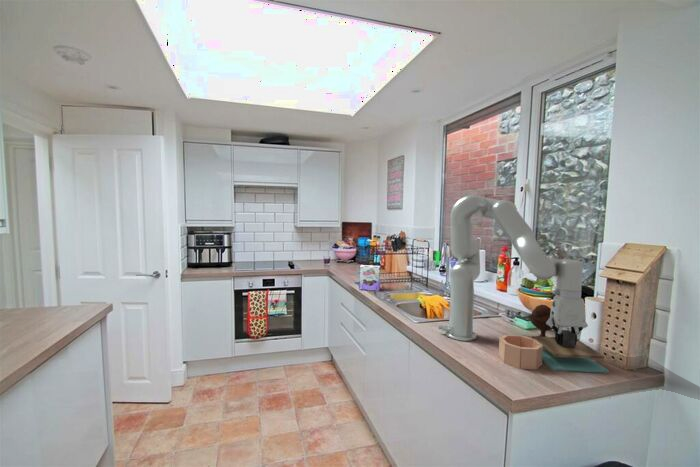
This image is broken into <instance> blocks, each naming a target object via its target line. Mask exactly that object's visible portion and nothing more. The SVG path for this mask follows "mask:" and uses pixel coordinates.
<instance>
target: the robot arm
mask: <svg viewBox="0 0 700 467" xmlns="http://www.w3.org/2000/svg"><path fill="white" fill-rule="evenodd" d="M472 217H481V218H486V219H491V220H494V221H495V222H496V224H497V225H498V227H499V228H500V229H501V230H502V231H503V233H504V234H505V236H506V237H507V238H508V240H509V241H510V243H511V245H512V247H514V249H515V251H516V253H517V254H518V256H519V257H520V259H521V260H522V262H523V263H524V264H525V266H526V267H527V269H528V270H529V271H530V273H531V274H532V275H533V276H534V277H535V278H537V279H538V280H543V281H547V280H551V279H552V278H553V277H556V284H555V285H556V287H555V290H554V289H553V290H552V291H551V292H552V295H554V296H553V298H552V302H551V307H550V309H551V313H550V318H549V319H548V320H547V322H546V324H547V325H548V326H550V327H551V328H552V330H553V331H554V333H555V334H554V337H555V341H556V342H557V343H558V344H559V345H562V340H563V334H561V332H562V330H563V328H570V331H571V332H573V333H574V334H576V336H575V346H576V342H577V340H578V335H579V334H580V332H582V330H583V329H586V328H587V327H588V326H589V325H588V323H587V321H586V319H587V318H586V317H587V316H586V305H585V301H584V298H582V286H583V270H584V269H583V268H584V267H583V266H584V265H583V263H582V261H580V260H578V259H577V260H576V259H570V258H569V259H568V258H563V259H560V258H556V257H548V256H547V255H546V253H545V252H544V250H543V249H542V247H541V246H540V244H539V242H538V241H537V239H536V237H535V234H534V230H533V229H532V228H531V227H530V225H529V224H528V223H527V222H526V221H525V219H524V217H523V216H522V215H521V214H520V212H519V211H518V208H517V206H516V205H515V203H514V202H512V201H510V200H507V199H506V200H505V199H503V200H501V199H496V198H489V197H486V196H485V197H484V196H479V195H475V194H469V195H465V196H463V197H461V198H460V199H458V200H457V201H456V202H455V203H454V205H453V206H452V208H451V211H450V217H449V218H450V219H449V220H450V248H451V254H452V256H453V257H455V258H456V259H457V263H456V264H455V265H453V266H452V268H451V269H450V273H449V283H450V285H449V287H450V294H449V295H450V297H449V320H448V321H449V322H447V323H445V324H438V325H437V330H442V332H444V334H445V336H447V337H448V338H450V339H453V340H456V341H461V342H462V341H463V342H464V341H465V342H468V341H469V342H470V341H474V340H476V339H477V334H476V332H474V331H473V328H474V326H473V325H474V307H475V304H474V302H475V288H474V284H475V283H474V282H475V281H476V280H477V279H478V278H479V277H480V273H481V257H480V253H481V252H480V245H479V243H478V241H477V239H476V238H474V237H473V228H472V227H473V226H472ZM552 323H555V326H554V325H553V324H552Z"/></svg>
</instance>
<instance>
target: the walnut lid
mask: <svg viewBox="0 0 700 467" xmlns="http://www.w3.org/2000/svg"><path fill="white" fill-rule="evenodd" d="M561 334H563V340H562V345H559V344H558V343H557V342H556V341H555V336H546V337H536V336H537V335H536V336H534V335H533V336H532V335H531V338H532V339H535V340H537V341H538V342H539V343H541V344H542V345H543V348H544V349H545V350H547V351H548V352H549V353H551V354H552V355H553V356H554V357H571V358H590V359H592V360H593V359H596V360H597V359H598V360H605V355H603V354H602V353H601V352H598V351H597V350H596V349H594V348H592V347H590V346H589V345H587V344H586V343H584V342H583V341H581V340H579V339H577V342H576V346H575V336H576V334H574V333H573V332H571V330H567V329H562V332H561Z"/></svg>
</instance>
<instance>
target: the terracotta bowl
mask: <svg viewBox="0 0 700 467" xmlns="http://www.w3.org/2000/svg"><path fill="white" fill-rule="evenodd" d="M498 341H499V342H498V358H499V359H500V360H501V361H502V363H503V364H505V365H508V366H512V367H514V368H517V369H520V370H538V369H539V368H540V367H541V366H542V365H543V362H542V353H543V345H542V344H541V343H539V342H538V341H537V340H535V339H532V337H528V336H524V335H521V334H504V335H502V336H500V337H499V340H498Z"/></svg>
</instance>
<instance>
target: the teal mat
mask: <svg viewBox="0 0 700 467" xmlns="http://www.w3.org/2000/svg"><path fill="white" fill-rule="evenodd" d="M542 363H543V364H545V365H546V366H547V367H548V368H549V369H550V370H552V371H568V372H570V371H571V372H586V373H587V372H588V373H606V374H607V373H609V369H607V368H605V367H604V366H602V365H601V364H599V363H598V362H597V361H595V360H593V358H571V357H554V356H553V355H552V354H551V353H549V352H548V351H547V350H545V349H544V348H543V353H542Z"/></svg>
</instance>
